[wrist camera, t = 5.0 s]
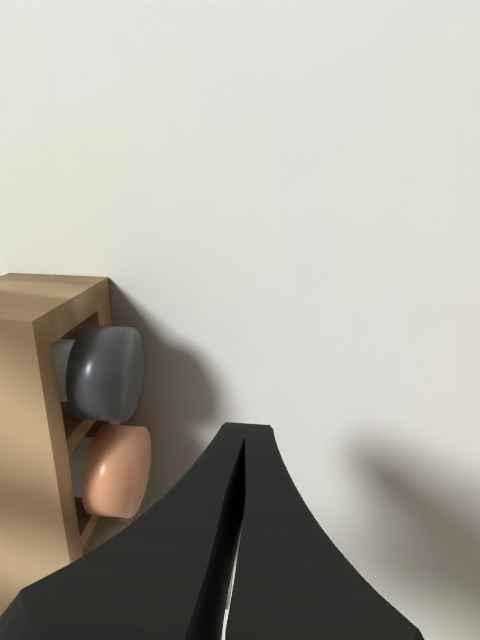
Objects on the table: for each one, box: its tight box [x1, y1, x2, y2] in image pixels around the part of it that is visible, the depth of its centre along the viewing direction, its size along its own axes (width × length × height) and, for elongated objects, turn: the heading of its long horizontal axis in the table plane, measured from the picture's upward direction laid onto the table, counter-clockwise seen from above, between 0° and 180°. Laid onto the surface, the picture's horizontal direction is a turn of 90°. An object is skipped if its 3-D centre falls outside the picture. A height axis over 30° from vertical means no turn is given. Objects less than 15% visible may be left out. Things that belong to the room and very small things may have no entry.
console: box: [0, 273, 130, 617], centre depth 18 cm, size 15×4×6 cm, turn 179°
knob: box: [52, 325, 144, 422], centre depth 16 cm, size 4×6×4 cm, turn 89°
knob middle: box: [69, 424, 151, 518], centre depth 18 cm, size 4×6×4 cm, turn 89°
